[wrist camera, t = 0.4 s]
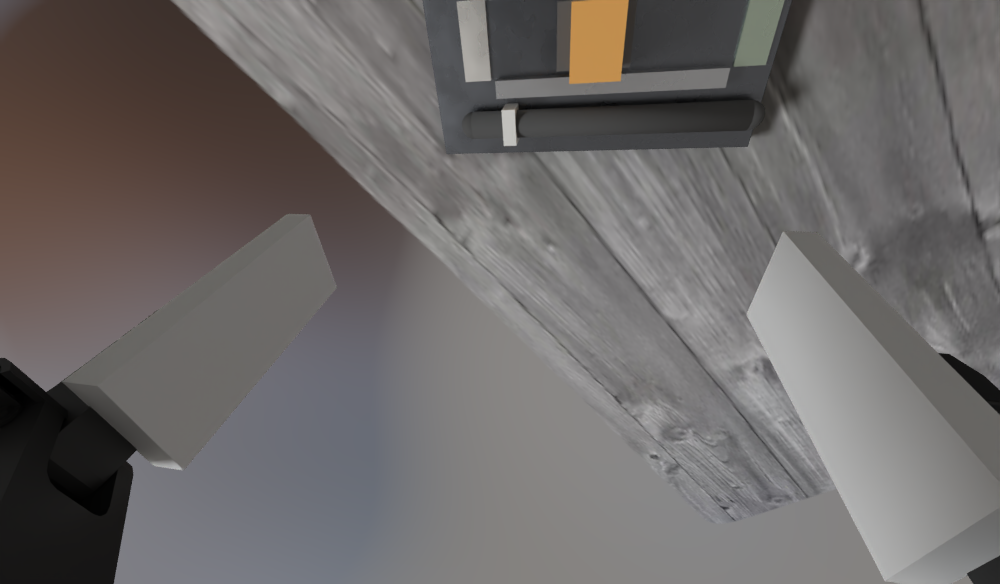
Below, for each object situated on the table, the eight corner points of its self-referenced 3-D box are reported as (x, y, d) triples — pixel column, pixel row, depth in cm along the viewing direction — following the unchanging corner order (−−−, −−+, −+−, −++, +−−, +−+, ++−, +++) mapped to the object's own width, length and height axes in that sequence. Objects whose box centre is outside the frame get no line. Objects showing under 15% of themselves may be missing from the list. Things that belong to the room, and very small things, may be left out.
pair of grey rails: (440, -82, 25) (429, -88, 23) (831, -135, 21) (855, -147, 19) (467, 138, 33) (460, 147, 31) (751, 129, 29) (763, 138, 27)
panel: (416, -99, 26) (399, -109, 23) (824, -158, 22) (856, -178, 19) (452, 146, 35) (442, 158, 33) (739, 138, 31) (753, 151, 29)
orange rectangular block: (557, 1, 26) (553, 3, 21) (636, -6, 25) (648, -6, 20) (557, 69, 28) (552, 84, 24) (628, 65, 28) (638, 80, 23)
